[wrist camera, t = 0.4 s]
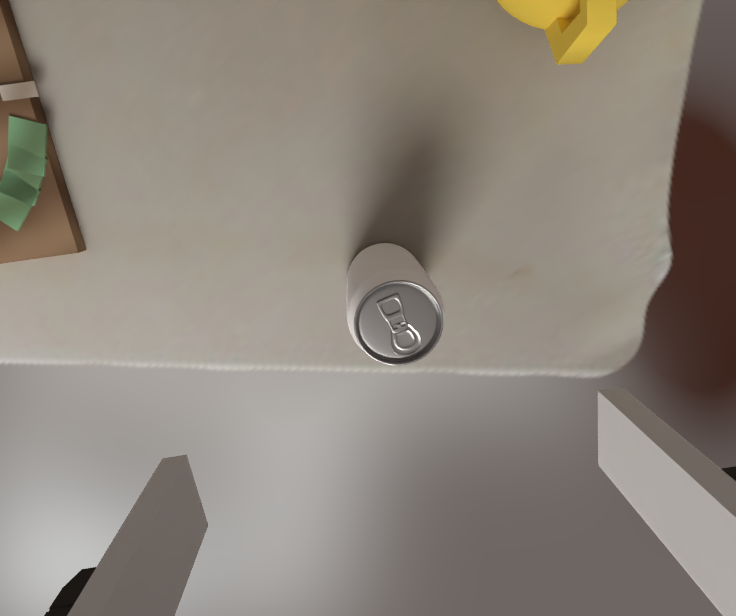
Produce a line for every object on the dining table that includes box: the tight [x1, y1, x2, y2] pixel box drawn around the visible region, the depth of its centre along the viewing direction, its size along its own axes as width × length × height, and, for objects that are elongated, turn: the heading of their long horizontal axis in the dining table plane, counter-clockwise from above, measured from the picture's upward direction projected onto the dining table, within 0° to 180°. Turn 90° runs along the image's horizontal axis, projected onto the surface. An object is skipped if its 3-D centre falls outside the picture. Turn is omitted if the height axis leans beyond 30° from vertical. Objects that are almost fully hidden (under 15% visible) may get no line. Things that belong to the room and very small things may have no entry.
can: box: [347, 243, 445, 365], centre depth 36 cm, size 6×6×12 cm
